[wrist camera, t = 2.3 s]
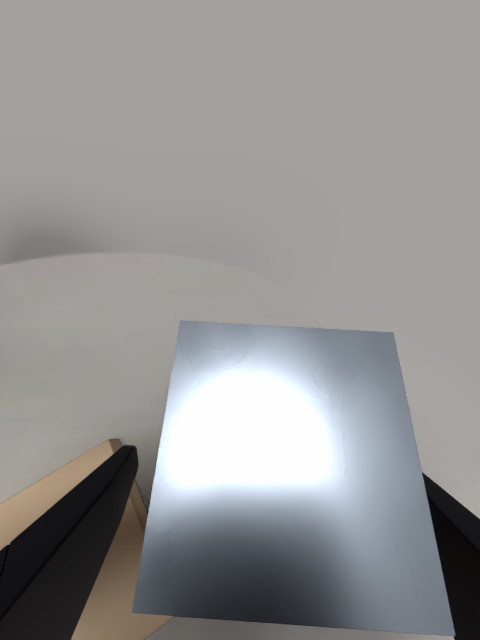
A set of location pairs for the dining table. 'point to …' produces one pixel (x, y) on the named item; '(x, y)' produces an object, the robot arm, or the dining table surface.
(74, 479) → the cork pad
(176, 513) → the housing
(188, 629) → the dining table surface
